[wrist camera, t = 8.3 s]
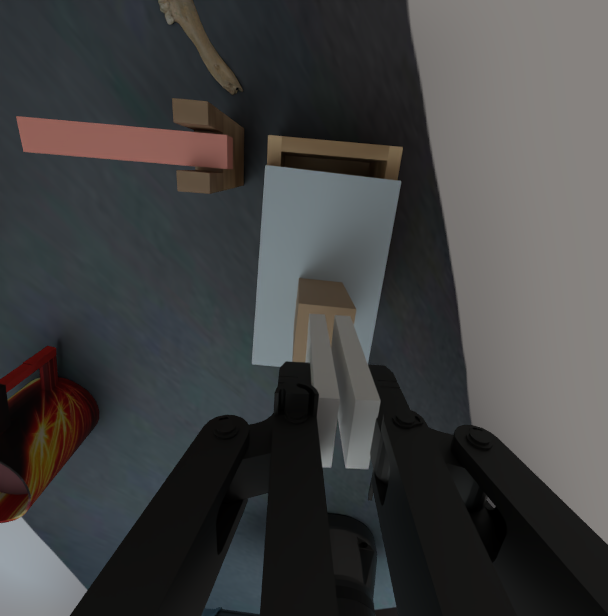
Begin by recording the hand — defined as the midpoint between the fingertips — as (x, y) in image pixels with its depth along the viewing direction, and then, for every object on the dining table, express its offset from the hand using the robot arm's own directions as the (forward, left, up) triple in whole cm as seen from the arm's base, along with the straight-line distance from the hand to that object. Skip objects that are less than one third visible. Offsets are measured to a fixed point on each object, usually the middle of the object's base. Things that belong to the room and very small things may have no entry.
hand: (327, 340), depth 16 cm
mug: (-21, +31, -21) cm, 43 cm away
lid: (0, 0, -12) cm, 12 cm away
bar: (+8, +13, -11) cm, 19 cm away
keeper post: (+8, +8, -21) cm, 24 cm away
